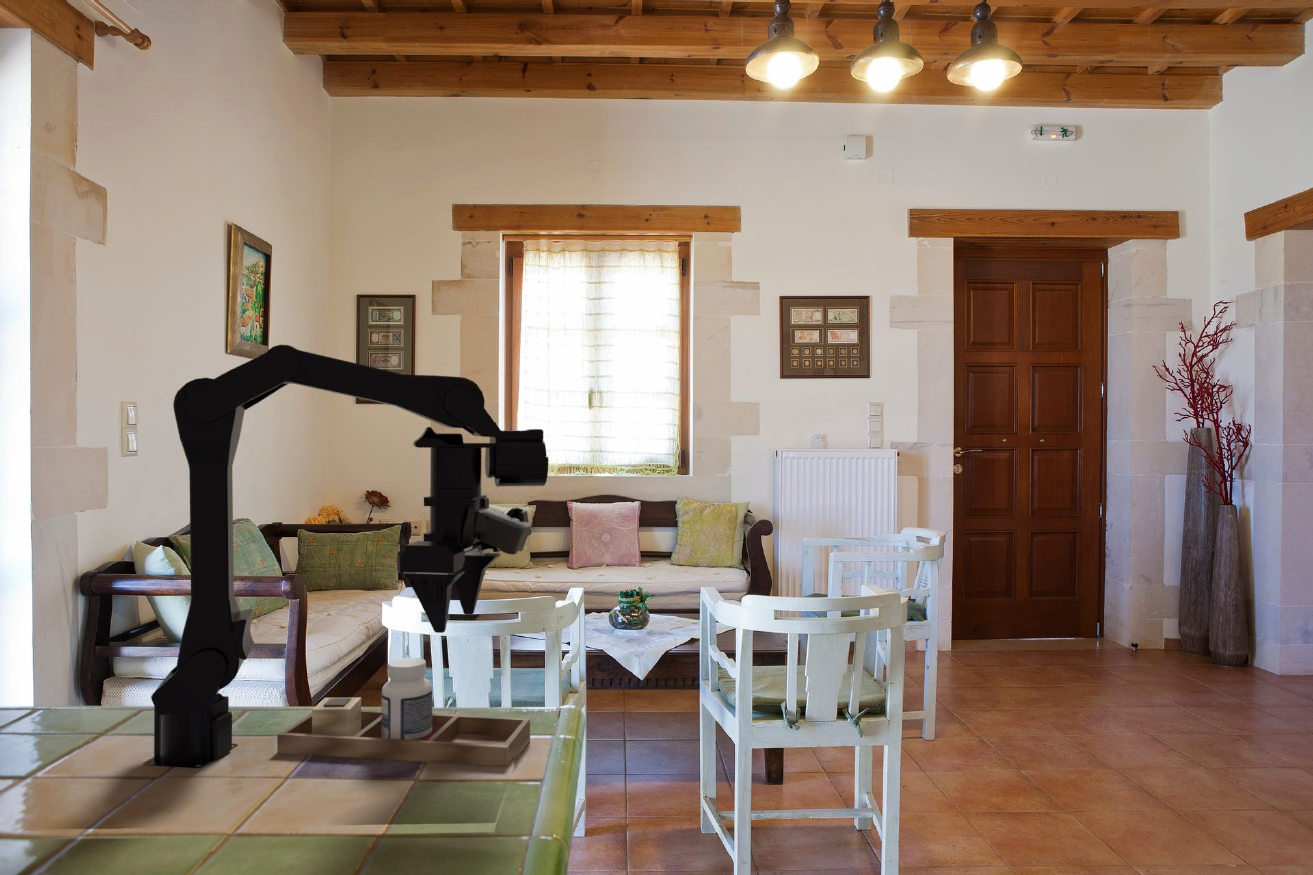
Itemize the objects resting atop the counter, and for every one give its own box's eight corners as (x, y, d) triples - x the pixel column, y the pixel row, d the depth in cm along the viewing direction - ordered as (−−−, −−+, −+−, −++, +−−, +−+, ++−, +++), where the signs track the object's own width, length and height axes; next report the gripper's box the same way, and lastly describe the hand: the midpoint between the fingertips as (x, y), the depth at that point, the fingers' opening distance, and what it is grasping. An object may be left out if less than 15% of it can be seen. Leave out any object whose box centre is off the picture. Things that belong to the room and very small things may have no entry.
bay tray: (277, 757, 88) (277, 734, 88) (320, 729, 97) (320, 707, 97) (506, 771, 85) (507, 747, 85) (530, 740, 94) (530, 718, 94)
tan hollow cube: (311, 746, 90) (312, 707, 90) (324, 733, 94) (325, 695, 94) (349, 746, 90) (350, 707, 90) (361, 732, 94) (361, 695, 94)
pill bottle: (440, 737, 93) (441, 657, 93) (418, 754, 88) (418, 670, 88) (396, 733, 94) (397, 654, 94) (372, 750, 89) (372, 666, 89)
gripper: (498, 494, 86) (497, 646, 86) (545, 483, 105) (544, 608, 105) (395, 492, 87) (394, 641, 88) (459, 482, 106) (458, 605, 106)
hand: (455, 622), depth 96 cm, fingers open, 9 cm apart
